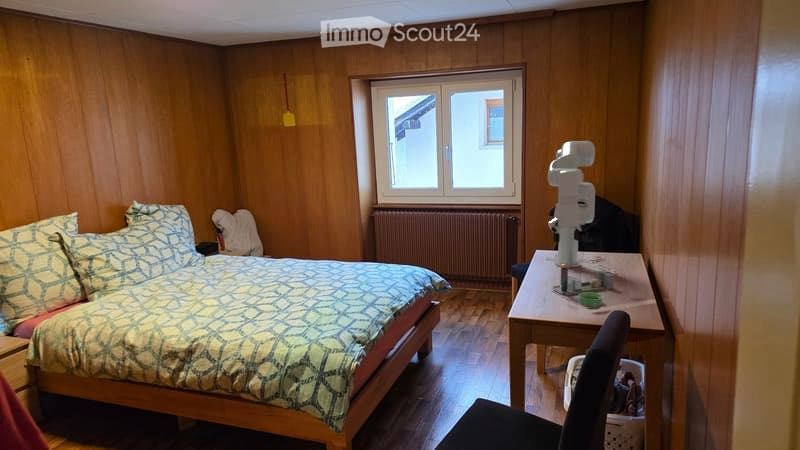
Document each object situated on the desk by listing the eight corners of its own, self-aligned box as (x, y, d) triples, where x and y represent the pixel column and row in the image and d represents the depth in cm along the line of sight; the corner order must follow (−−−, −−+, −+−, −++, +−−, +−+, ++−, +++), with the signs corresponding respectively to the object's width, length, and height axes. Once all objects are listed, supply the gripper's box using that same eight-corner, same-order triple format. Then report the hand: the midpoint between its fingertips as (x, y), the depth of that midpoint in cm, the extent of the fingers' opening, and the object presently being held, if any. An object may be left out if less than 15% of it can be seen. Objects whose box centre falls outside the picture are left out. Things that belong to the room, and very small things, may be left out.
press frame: (551, 291, 215) (552, 274, 214) (598, 285, 221) (599, 268, 220) (567, 300, 204) (568, 282, 202) (617, 293, 210) (618, 276, 209)
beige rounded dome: (589, 286, 215) (589, 279, 215) (597, 285, 216) (597, 278, 216) (595, 289, 211) (595, 282, 211) (603, 288, 212) (603, 280, 212)
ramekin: (574, 303, 200) (574, 292, 200) (595, 301, 201) (596, 291, 200) (584, 311, 192) (584, 300, 191) (606, 309, 192) (607, 298, 191)
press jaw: (552, 289, 212) (553, 263, 210) (571, 286, 214) (572, 261, 212) (562, 294, 205) (563, 267, 203) (581, 291, 208) (582, 265, 206)
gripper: (580, 198, 209) (578, 237, 212) (544, 200, 204) (543, 241, 207) (591, 200, 202) (590, 241, 205) (554, 202, 197) (553, 244, 200)
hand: (566, 241), depth 206 cm, fingers open, 9 cm apart
